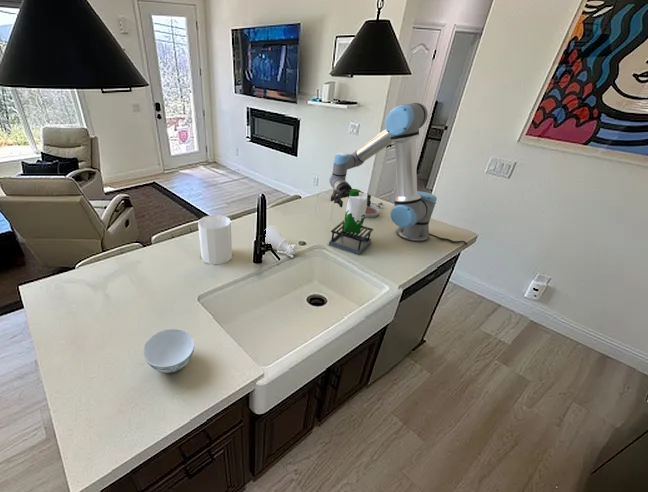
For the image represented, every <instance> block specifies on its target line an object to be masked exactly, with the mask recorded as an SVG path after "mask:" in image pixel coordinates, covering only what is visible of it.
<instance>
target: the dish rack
mask: <svg viewBox="0 0 648 492" xmlns="http://www.w3.org/2000/svg"><path fill="white" fill-rule="evenodd" d="M367 231H368V232H367ZM373 231H374V228H371V227H367V226H366V225H365V226H364V225H362V227H361V230H360V232H359V234H357V233H350V232H344V220H342V221H341V222H340V223H338V225H336V226H335V227H334V228H332V229H331V230H330V233H331V239H330V240H329V242H328V245H329V246H331V247H333V248H337V249H340V250H343V251H345V252H349V253H352V254H356V255H361V254H362V252H363V251H364V250H365V249H366V248H367V247H368V246H369V245H370V244H371V241H372V238H371V234H372V232H373ZM364 234H365V235H364ZM363 235H364V236H363Z"/></svg>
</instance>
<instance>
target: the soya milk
mask: <svg viewBox="0 0 648 492" xmlns="http://www.w3.org/2000/svg"><path fill="white" fill-rule="evenodd" d="M359 190H360V189H358V188H352V189H351V190H350V194H349V197H347V198H348V199H347V202H346V208H345V213H344V219H343V221H344V232H350V233H355V234H358V235H360V233H361V232H360V230H361V229H362V228H361V227H362V226H364V225H363V224H364V222H365V218H364V217H365V212H366V208H367V195H369V194H368V193H366V192H364V193H361V192H359ZM359 232H360V233H359Z"/></svg>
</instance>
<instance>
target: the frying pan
mask: <svg viewBox="0 0 648 492" xmlns="http://www.w3.org/2000/svg"><path fill="white" fill-rule="evenodd" d="M380 208H383V201H380V202H379V203H376V202H371V204H370V207H368V206H367V208H366V212H365V217H364V219H372V218H373V219H374V218H376V217H378V216H379V214H380V213H381V209H380Z"/></svg>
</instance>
